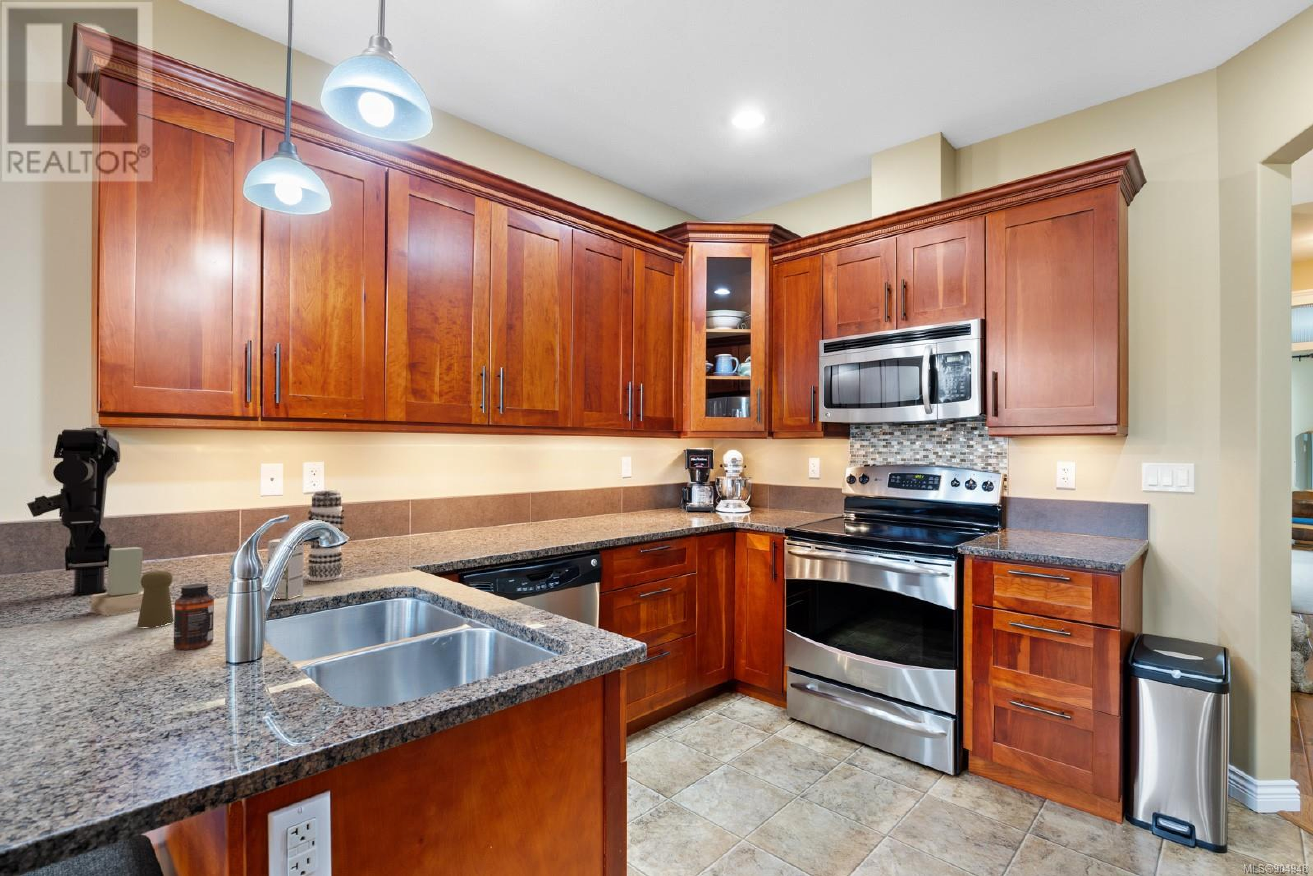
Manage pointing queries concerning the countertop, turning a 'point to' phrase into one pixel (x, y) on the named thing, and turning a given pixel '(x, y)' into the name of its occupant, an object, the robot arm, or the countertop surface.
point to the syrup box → (289, 572)
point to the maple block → (115, 603)
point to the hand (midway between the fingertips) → (77, 549)
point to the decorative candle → (322, 560)
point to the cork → (156, 599)
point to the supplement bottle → (193, 618)
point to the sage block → (124, 571)
